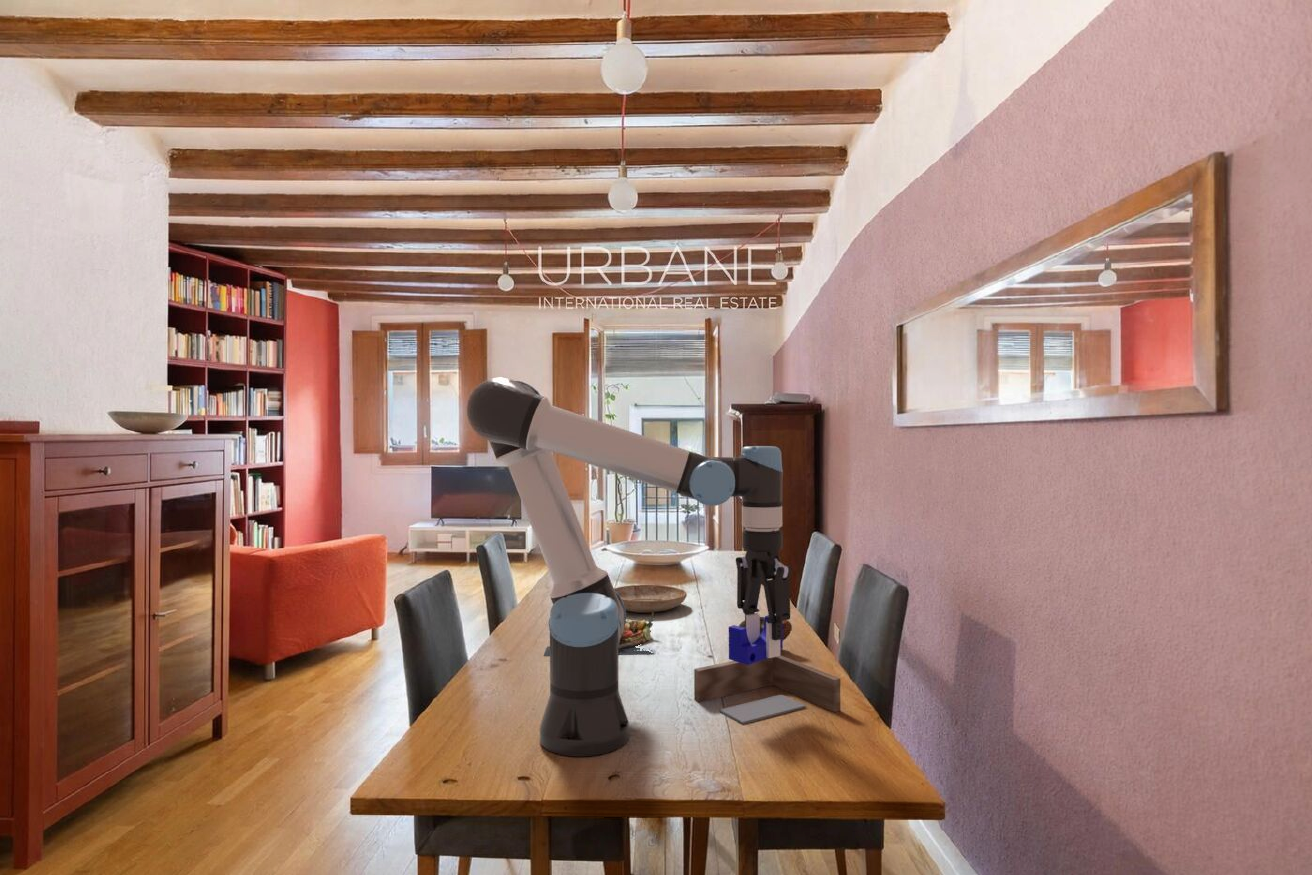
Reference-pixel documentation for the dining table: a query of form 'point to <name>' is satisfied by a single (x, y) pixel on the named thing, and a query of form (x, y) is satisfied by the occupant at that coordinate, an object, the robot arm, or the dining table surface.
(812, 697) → the corner walls
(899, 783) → the dining table surface
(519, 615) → the dining table surface
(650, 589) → the ceramic bowl
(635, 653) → the plated dish
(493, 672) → the dining table surface
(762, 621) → the decorative turtle
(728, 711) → the grey mat
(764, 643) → the blue curved block
